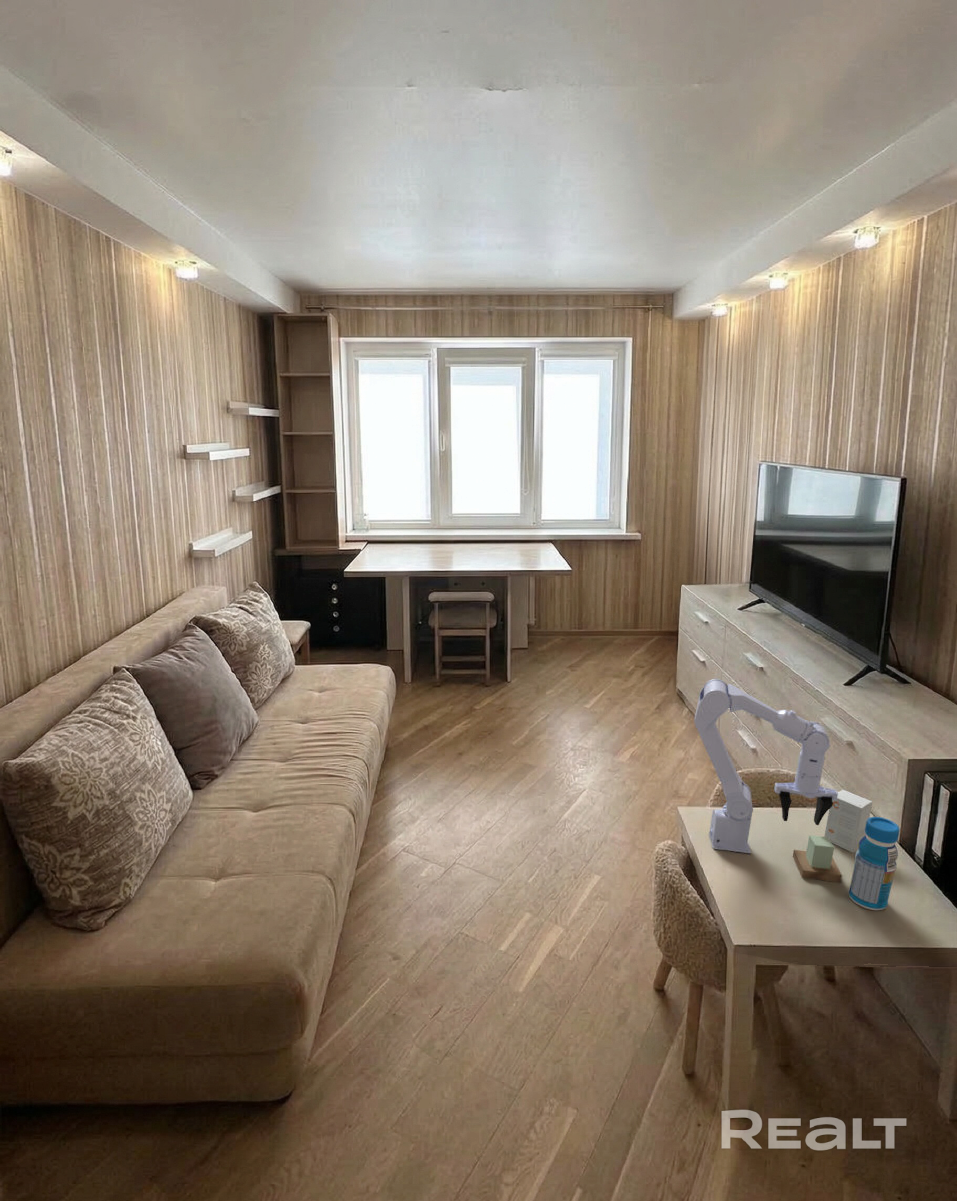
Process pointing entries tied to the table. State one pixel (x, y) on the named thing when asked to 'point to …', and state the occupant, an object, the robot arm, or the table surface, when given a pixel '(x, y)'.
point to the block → (819, 852)
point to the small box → (848, 820)
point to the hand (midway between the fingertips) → (800, 821)
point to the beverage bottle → (875, 864)
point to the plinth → (816, 869)
